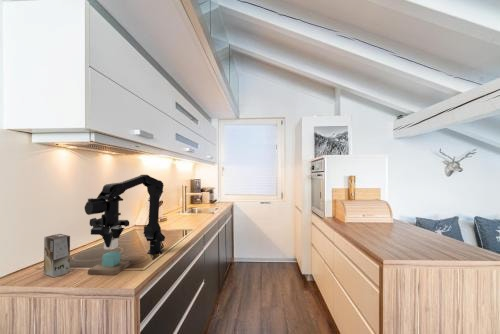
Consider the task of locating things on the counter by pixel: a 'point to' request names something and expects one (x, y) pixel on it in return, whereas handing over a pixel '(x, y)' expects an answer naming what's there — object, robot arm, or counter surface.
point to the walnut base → (109, 268)
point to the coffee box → (56, 255)
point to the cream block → (112, 244)
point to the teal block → (110, 259)
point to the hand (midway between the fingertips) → (111, 245)
